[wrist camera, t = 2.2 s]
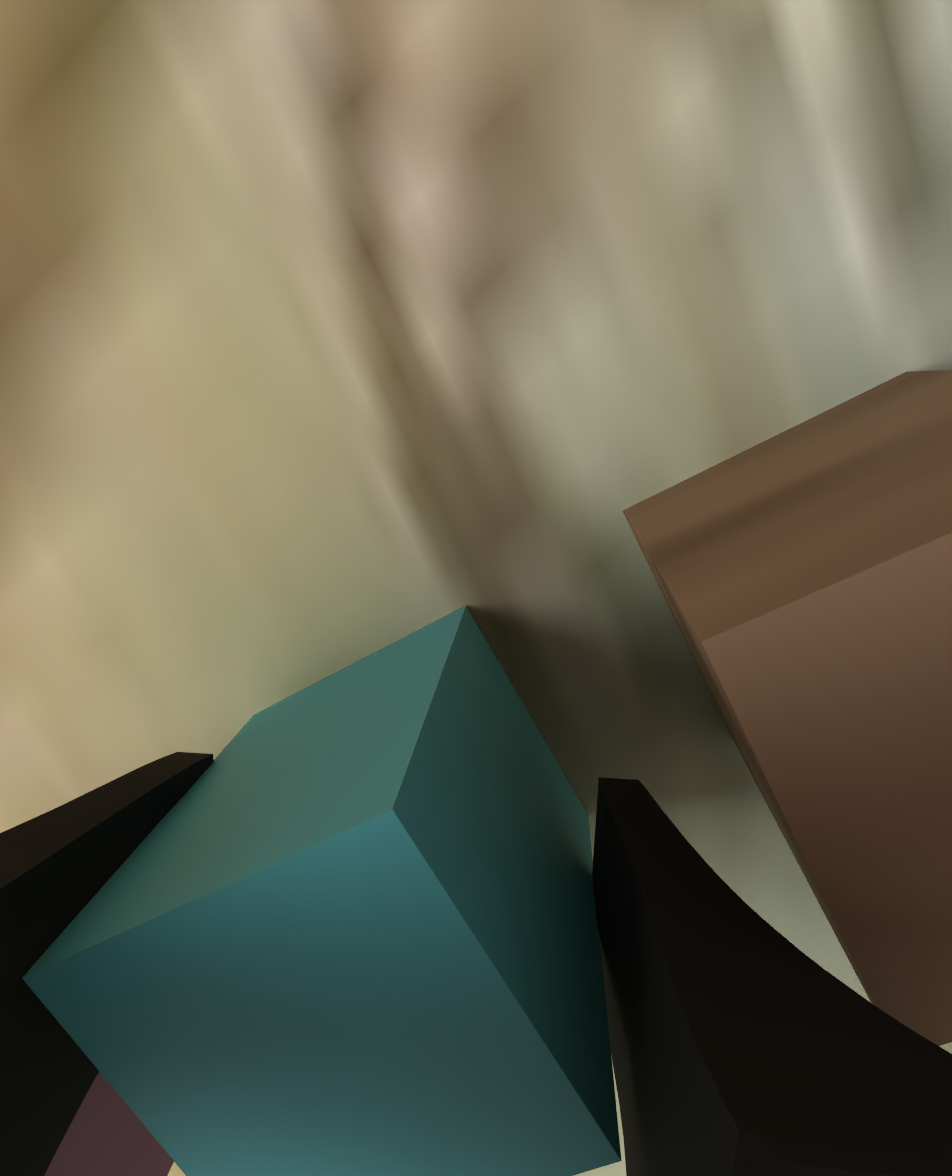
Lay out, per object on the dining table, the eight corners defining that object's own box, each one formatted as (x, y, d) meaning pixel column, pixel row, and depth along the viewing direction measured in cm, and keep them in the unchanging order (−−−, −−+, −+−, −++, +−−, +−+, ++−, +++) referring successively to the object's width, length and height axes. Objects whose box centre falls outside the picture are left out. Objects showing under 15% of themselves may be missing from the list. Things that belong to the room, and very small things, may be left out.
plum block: (265, 970, 15) (83, 1349, 9) (97, 1034, 16) (-165, 1414, 10) (143, 795, 14) (-147, 1092, 8) (-28, 873, 15) (-397, 1190, 9)
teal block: (587, 814, 13) (621, 1161, 7) (380, 902, 14) (263, 1269, 8) (465, 605, 12) (391, 809, 6) (254, 715, 13) (21, 978, 7)
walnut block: (1004, 632, 11) (1478, 889, 6) (733, 741, 12) (899, 1056, 6) (906, 372, 10) (1350, 358, 5) (623, 510, 11) (700, 642, 6)
